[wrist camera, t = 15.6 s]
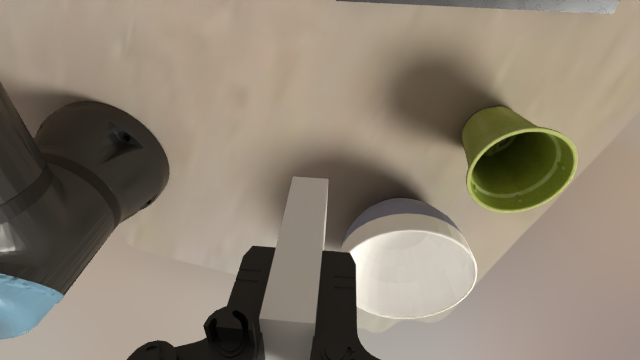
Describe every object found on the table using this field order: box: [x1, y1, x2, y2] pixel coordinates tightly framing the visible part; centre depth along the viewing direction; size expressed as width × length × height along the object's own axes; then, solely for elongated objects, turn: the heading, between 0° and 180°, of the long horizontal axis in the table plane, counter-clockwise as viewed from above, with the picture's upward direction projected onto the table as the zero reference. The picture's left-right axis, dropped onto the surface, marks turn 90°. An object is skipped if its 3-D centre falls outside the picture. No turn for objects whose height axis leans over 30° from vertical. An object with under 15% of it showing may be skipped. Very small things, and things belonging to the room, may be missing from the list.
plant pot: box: [462, 106, 578, 213], centre depth 35 cm, size 9×9×9 cm
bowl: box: [340, 198, 477, 319], centre depth 44 cm, size 16×16×10 cm
